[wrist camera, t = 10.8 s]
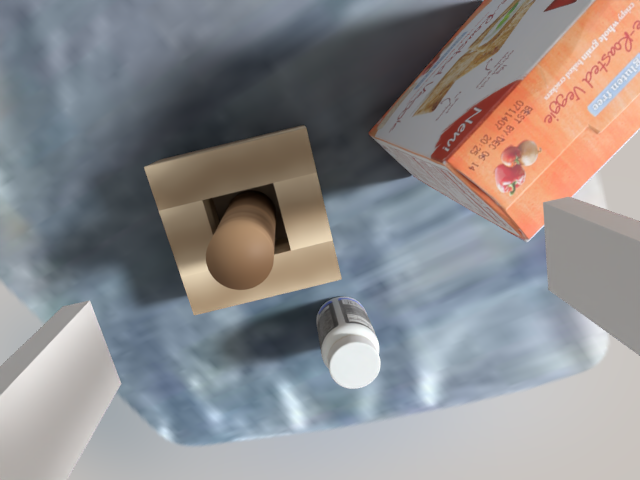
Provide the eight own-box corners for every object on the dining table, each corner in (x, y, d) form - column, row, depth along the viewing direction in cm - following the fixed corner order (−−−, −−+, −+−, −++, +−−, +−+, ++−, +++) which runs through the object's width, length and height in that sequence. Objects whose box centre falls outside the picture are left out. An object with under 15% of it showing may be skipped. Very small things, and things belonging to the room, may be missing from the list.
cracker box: (481, -7, 38) (709, -132, 17) (531, 48, 39) (794, -9, 19) (361, 131, 40) (440, 160, 20) (412, 178, 41) (534, 250, 21)
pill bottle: (326, 348, 45) (336, 402, 37) (308, 306, 44) (314, 352, 36) (374, 330, 45) (393, 380, 37) (357, 287, 44) (374, 329, 36)
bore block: (160, 159, 39) (143, 167, 34) (303, 124, 39) (306, 127, 34) (204, 291, 43) (194, 315, 38) (335, 259, 43) (341, 279, 38)
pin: (221, 196, 39) (197, 235, 28) (269, 185, 39) (264, 218, 28) (235, 241, 40) (216, 296, 29) (281, 230, 41) (281, 281, 29)
